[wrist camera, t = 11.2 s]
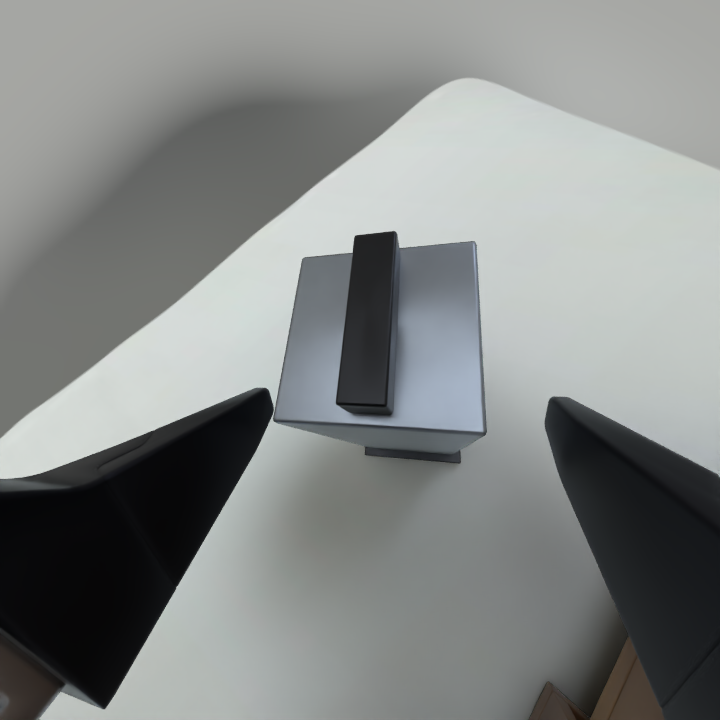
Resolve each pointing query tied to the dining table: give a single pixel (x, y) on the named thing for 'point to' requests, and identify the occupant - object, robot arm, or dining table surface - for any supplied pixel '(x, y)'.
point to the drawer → (627, 691)
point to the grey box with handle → (388, 349)
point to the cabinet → (556, 706)
